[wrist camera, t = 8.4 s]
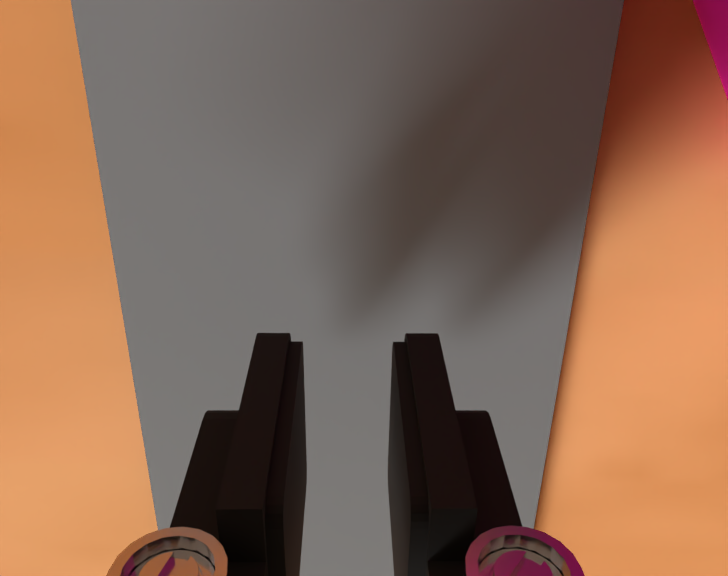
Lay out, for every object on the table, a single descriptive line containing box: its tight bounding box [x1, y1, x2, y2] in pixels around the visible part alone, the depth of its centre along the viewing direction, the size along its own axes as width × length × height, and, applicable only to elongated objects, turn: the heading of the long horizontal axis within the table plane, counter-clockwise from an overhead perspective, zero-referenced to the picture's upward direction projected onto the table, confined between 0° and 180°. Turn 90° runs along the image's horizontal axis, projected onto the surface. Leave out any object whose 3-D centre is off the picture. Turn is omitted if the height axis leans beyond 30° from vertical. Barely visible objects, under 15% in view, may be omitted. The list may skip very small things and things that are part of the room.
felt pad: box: [71, 0, 624, 576], centre depth 14 cm, size 17×9×1 cm, turn 179°
